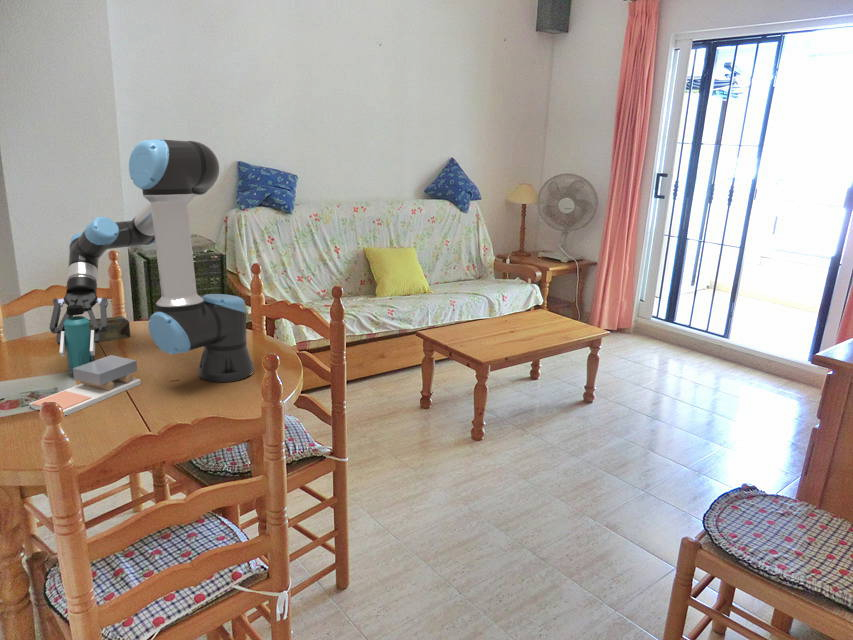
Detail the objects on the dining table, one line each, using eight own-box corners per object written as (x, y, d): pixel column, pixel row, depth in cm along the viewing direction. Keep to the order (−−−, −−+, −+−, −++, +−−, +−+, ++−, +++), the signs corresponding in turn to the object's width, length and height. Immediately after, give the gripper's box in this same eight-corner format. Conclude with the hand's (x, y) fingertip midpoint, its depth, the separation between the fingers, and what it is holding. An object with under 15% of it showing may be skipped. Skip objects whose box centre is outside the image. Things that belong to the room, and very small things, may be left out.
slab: (137, 370, 167) (136, 360, 166) (100, 385, 156) (99, 374, 155) (111, 365, 170) (111, 355, 169) (73, 379, 159) (72, 368, 158)
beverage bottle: (94, 378, 169) (87, 308, 164) (67, 380, 167) (59, 309, 162) (97, 369, 175) (90, 302, 170) (70, 371, 173) (63, 303, 167)
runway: (141, 383, 167) (140, 371, 166) (62, 417, 146) (60, 403, 145) (110, 376, 171) (109, 364, 170) (29, 408, 149) (27, 394, 148)
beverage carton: (131, 338, 204) (130, 319, 202) (66, 347, 192) (63, 327, 190) (125, 332, 210) (123, 313, 208) (61, 340, 198) (59, 321, 196)
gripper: (121, 288, 182) (119, 357, 172) (46, 289, 176) (39, 362, 166) (117, 274, 176) (115, 345, 166) (40, 275, 170) (32, 349, 159)
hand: (77, 353), depth 166 cm, fingers closed on beverage bottle, 6 cm apart
